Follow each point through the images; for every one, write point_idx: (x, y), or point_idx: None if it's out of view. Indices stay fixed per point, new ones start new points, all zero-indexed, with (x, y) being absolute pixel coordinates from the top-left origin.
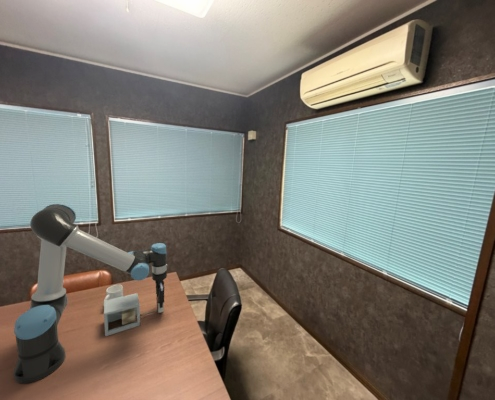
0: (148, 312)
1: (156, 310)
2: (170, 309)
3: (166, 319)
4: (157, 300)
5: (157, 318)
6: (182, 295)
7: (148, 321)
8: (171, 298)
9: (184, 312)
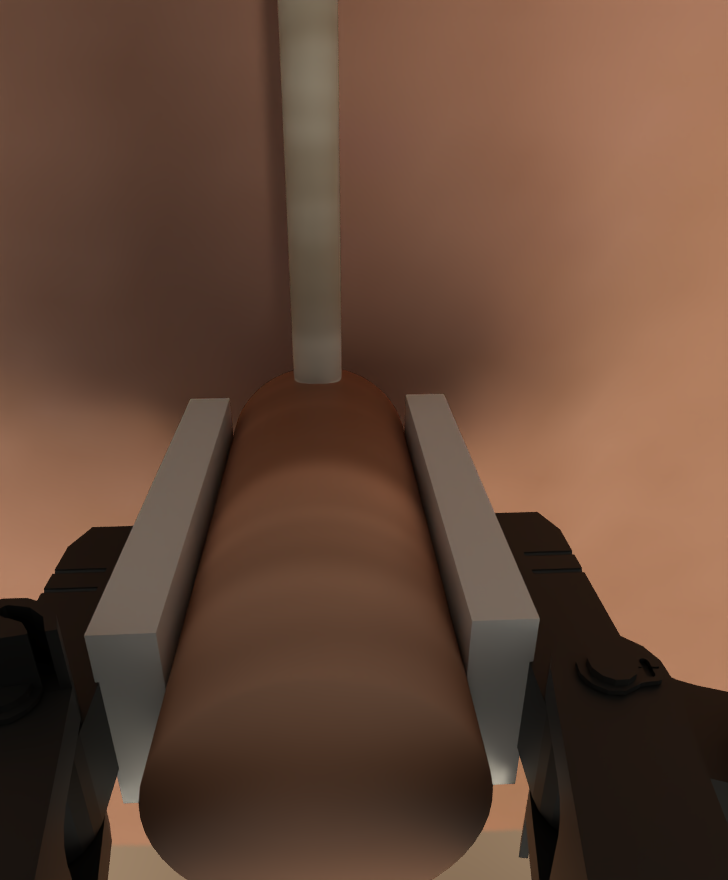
0: (291, 121)
1: (296, 369)
2: None
3: (4, 500)
4: (212, 641)
5: (109, 328)
6: None
7: (58, 81)
8: (682, 677)
9: (118, 786)
